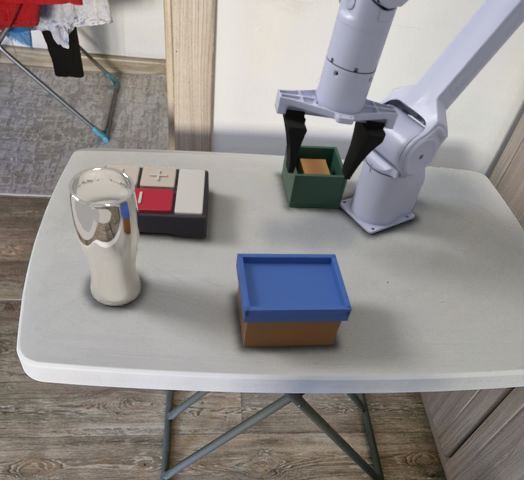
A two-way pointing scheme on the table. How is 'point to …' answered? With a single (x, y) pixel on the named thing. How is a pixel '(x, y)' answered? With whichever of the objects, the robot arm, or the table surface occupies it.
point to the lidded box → (290, 299)
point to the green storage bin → (315, 180)
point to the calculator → (170, 199)
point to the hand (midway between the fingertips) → (317, 172)
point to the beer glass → (107, 231)
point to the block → (313, 167)
